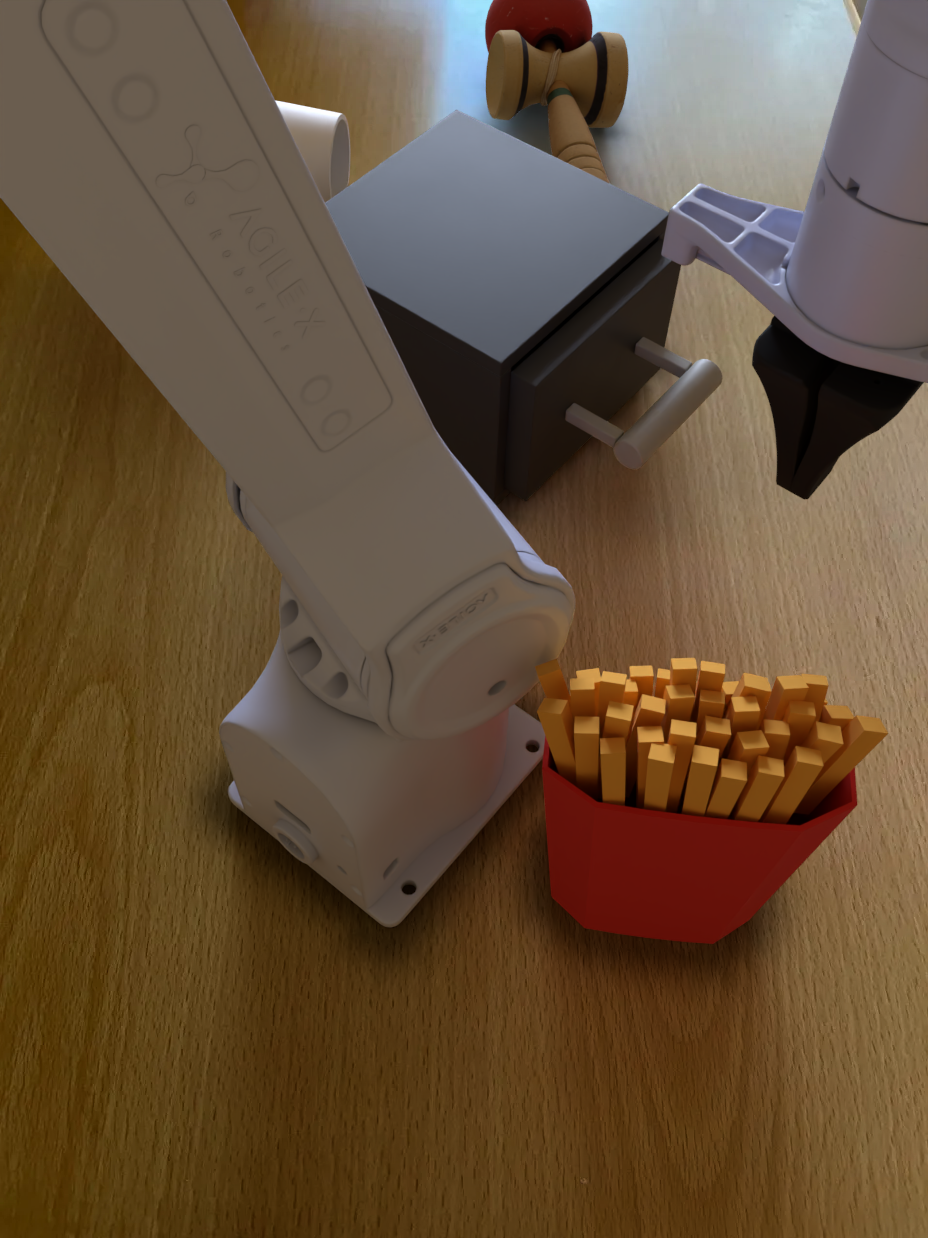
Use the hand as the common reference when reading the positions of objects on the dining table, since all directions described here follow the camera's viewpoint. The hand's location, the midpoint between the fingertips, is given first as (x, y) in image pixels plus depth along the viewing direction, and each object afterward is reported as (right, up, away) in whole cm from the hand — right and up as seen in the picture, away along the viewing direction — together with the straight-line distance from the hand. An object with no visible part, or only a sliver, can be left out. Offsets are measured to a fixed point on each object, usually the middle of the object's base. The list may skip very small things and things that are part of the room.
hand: (803, 476), depth 45 cm
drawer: (-10, +4, +8) cm, 13 cm away
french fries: (-7, -15, -4) cm, 17 cm away
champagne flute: (-43, +20, +15) cm, 50 cm away
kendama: (-8, +21, +20) cm, 30 cm away
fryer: (-13, +6, +9) cm, 17 cm away
